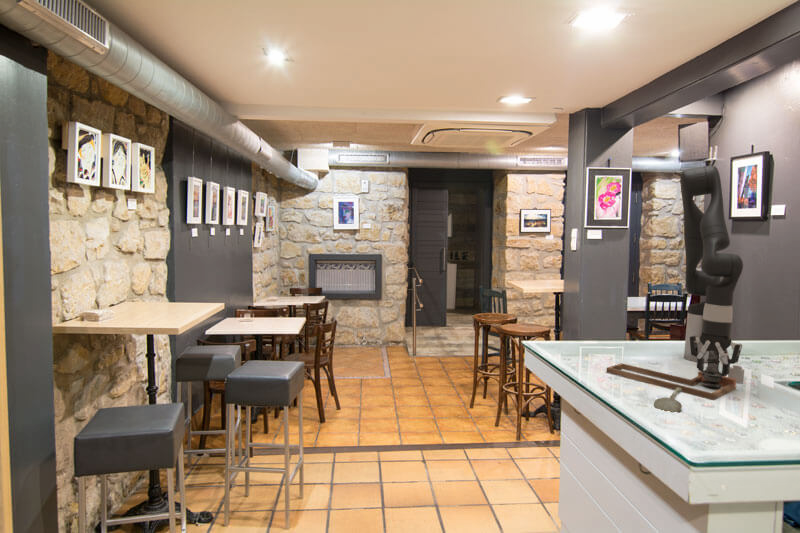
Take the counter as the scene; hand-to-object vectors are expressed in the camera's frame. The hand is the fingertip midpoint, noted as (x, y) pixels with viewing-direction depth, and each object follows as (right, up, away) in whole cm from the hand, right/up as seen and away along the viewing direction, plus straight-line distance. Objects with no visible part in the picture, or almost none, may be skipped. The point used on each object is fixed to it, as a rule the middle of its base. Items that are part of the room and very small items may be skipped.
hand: (712, 372), depth 156 cm
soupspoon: (-20, -6, -14) cm, 24 cm away
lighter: (+10, -4, +8) cm, 14 cm away
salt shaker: (0, -4, 0) cm, 4 cm away
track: (-10, -4, +6) cm, 13 cm away
